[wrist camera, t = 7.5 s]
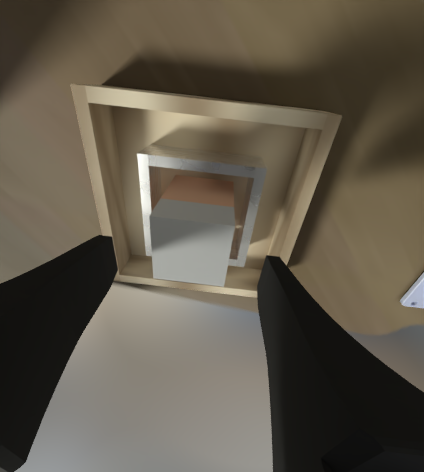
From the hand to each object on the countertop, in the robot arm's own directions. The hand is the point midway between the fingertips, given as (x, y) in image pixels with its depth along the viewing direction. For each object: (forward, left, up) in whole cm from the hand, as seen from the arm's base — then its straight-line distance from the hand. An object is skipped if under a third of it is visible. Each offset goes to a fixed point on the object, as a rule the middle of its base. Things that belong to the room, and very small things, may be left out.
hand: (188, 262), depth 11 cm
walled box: (0, 0, -7) cm, 7 cm away
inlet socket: (0, 0, -7) cm, 7 cm away
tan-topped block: (0, 0, -7) cm, 7 cm away
